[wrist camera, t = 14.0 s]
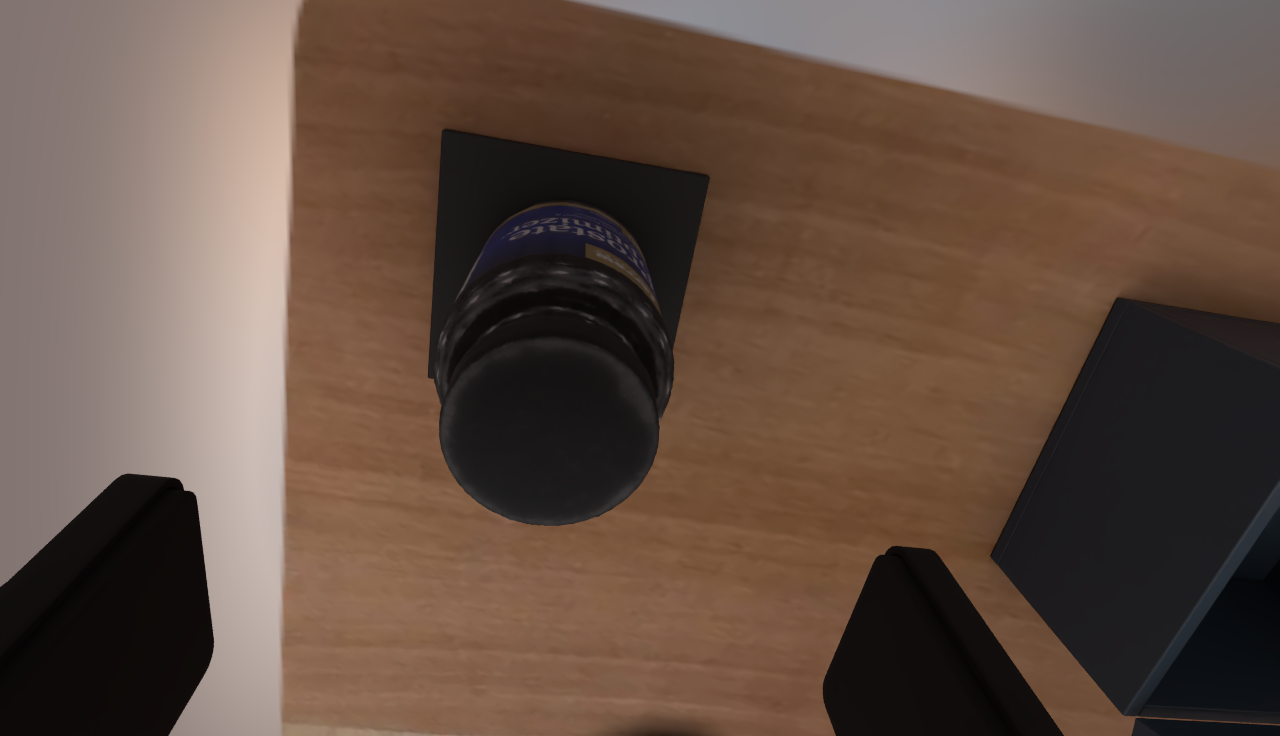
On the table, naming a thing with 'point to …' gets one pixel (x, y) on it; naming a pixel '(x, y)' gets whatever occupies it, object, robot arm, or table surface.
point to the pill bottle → (554, 367)
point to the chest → (1163, 516)
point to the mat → (529, 174)
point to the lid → (1200, 728)
